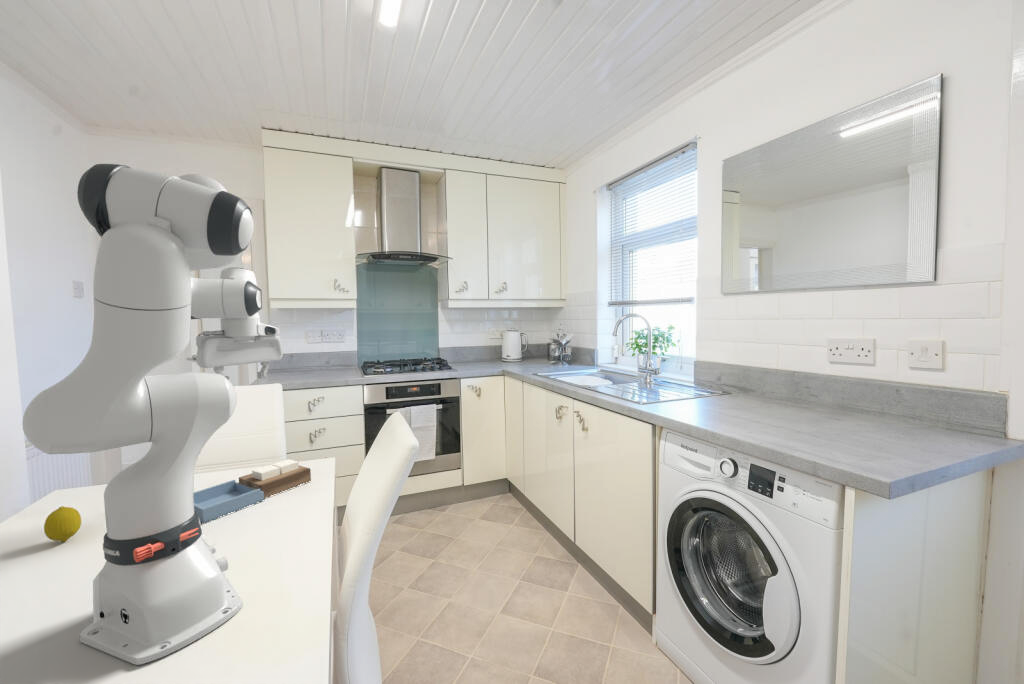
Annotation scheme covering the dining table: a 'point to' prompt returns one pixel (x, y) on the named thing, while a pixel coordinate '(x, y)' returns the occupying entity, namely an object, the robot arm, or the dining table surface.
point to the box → (224, 499)
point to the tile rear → (286, 465)
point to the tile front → (266, 472)
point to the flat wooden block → (278, 481)
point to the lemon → (62, 524)
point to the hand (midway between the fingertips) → (243, 380)
